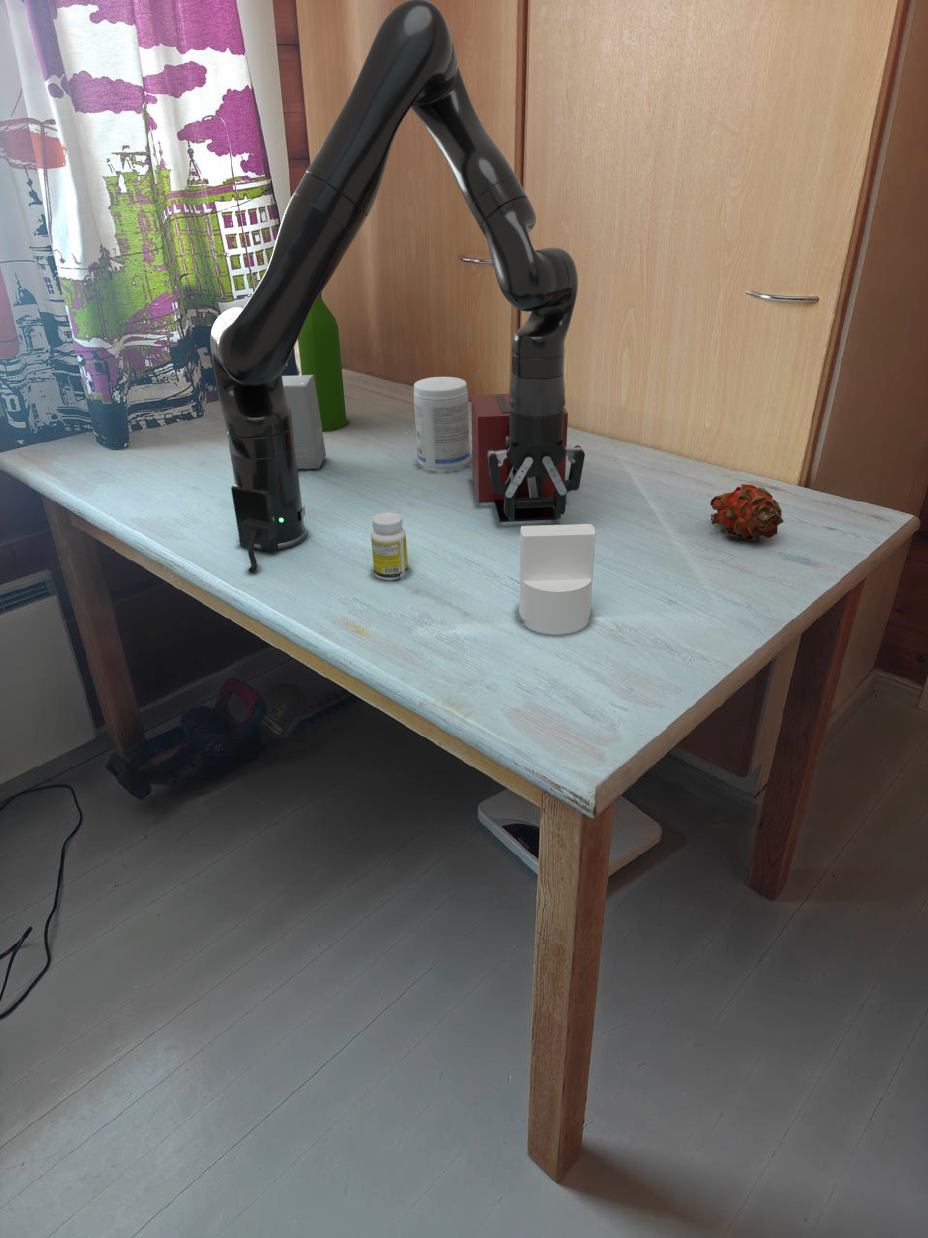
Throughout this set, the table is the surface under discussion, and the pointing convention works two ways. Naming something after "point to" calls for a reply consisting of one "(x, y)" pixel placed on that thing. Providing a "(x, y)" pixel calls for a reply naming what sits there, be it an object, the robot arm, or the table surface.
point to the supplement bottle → (389, 546)
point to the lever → (533, 497)
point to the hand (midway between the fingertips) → (534, 517)
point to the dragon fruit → (747, 512)
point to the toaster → (499, 446)
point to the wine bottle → (323, 363)
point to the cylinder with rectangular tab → (556, 577)
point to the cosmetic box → (305, 420)
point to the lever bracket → (524, 513)
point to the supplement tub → (442, 422)
